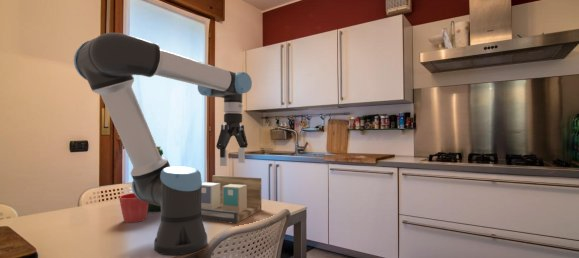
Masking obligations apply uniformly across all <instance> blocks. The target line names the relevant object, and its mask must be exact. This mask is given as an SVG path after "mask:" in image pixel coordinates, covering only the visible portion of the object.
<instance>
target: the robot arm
mask: <svg viewBox="0 0 579 258" xmlns="http://www.w3.org/2000/svg"><path fill="white" fill-rule="evenodd" d="M74 53H75V54H74V56H73V57H74V58H73V65H74V68H75V70H76V72H77V73H78V75H80V77H82V79H84V80H86V81H87V83H88V85H89V87H90V89H91V91H92V93H95V94H97V95H99V96H100V97H101V99H102V102H103V103H104V106H105V108H106V110H107V112H108V115H109V116H110V119H111V121H112V123H113V125H114V128H115V129H116V131H117V134H118V136H119V139H120V140H121V143H122V144H123V148H124V149H125V151H126V154H127V156H128V158H129V160H130V163H131V165H132V169H131V172H130V175H131V178H132V182H131V188H132V189H131V190H132V192H133V193H134V194H135V195H136V197H137V198H139V199H140V200H142V201H143V202H146V203H149V204H153V205H157V206H161V211H160V223H159V226H158V230H157V234H156V237H155V239H154V242H153V246H154V247H153V248H154V249H153V251H155V252H156V253H157V254H159V255H164V256H165V255H166V256H179V255H185V254H190V253H194V252H197V251H200V250H201V249H203V248H204V247H206V246H207V245H208V234H207V232H206V229H205V226H204V223H203V219H202V218H201V187H202V183H203V181H202V175H201V174H202V173H201V171H199V170H198V169H197V168H194V167H190V166H182V165H181V166H180V165H179V166H178V165H175V166H171V164H170V162H169V161H168V160H169V159H168V158H166V157H163V156H162V157H161V156H160V154H159V151H158V149H157V143H156V142H155V140H154V136H153V134H152V132H151V130H150V128H149V126H148V123H147V120H146V117H145V116H144V113H143V110H142V108H141V106H140V103H139V101H138V99H137V96H136V94H135V91H134V89H133V87H132V86H133V84H134V82H135V77H134V76H143V77H147V78H151V77H153V76H158V77H163V78H166V79H171V80H175V81H179V82H183V83H187V84H192V85H196V86H197V91H198V92H199V94H200V95H202V96H205V97H207V98H209V97H213V98H214V97H215V98H222V99H223V112H224V114H223V122H224V123H225V124H223V123H222V124H221V125H220V132H219V135H218V139H217V143H216V145H215V146H216V147H215V148H216V149H217V150H219V158H220V159H219V161H220V162H219V165H220V167H228V149H227V147H228V145H229V143H230V140H231V138H232V137H235V140H236V142H237V144H238V146H239V147H238V150H237V151H238V152H237V153H238V155H237V156H238V159H237V161H238V162H237V163H239V164H243V163H244V164H245V162H246V161H245V160H246V159H245V157H246V152H245V151H246V149H247V148H248V141H247V140H248V139H247V136H246V131H245V126H244V124H242V123H243V114H242V113H243V94H245V93H249V92H250V90H252V83H253V81H252V78H251V76H250V75H249V74H248V73H247V72H243V71H242V72H241V71H238V72H234V71H231V70H227V69H223V68H220V67H218V66H214V65H211V64H208V63H205V62H202V61H198V60H196V59H192V58H190V57H186V56H183V55H180V54H177V53H174V52H171V51H168V50H165V49H161V47H160V45H159V44H158V43H154V42H152V41H148V40H145V39H142V38H139V37H137V36H132V35H129V34H125V33H120V32H107V33H102V34H101V35H98V36H97V37H95V38H92V39H90V40H87V41H86V42H84V43H82V44H81V45H80V46H79V48H78V49H76V51H75V52H74ZM245 148H246V149H245Z"/></svg>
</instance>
